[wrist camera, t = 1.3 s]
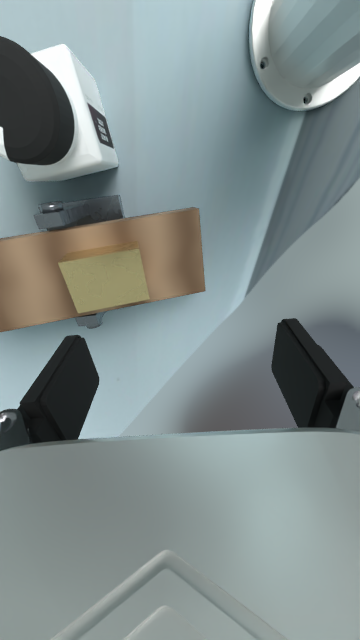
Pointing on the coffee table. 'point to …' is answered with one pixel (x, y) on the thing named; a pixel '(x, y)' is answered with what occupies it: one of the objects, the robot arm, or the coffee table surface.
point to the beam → (51, 246)
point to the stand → (77, 215)
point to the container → (51, 115)
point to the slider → (105, 276)
